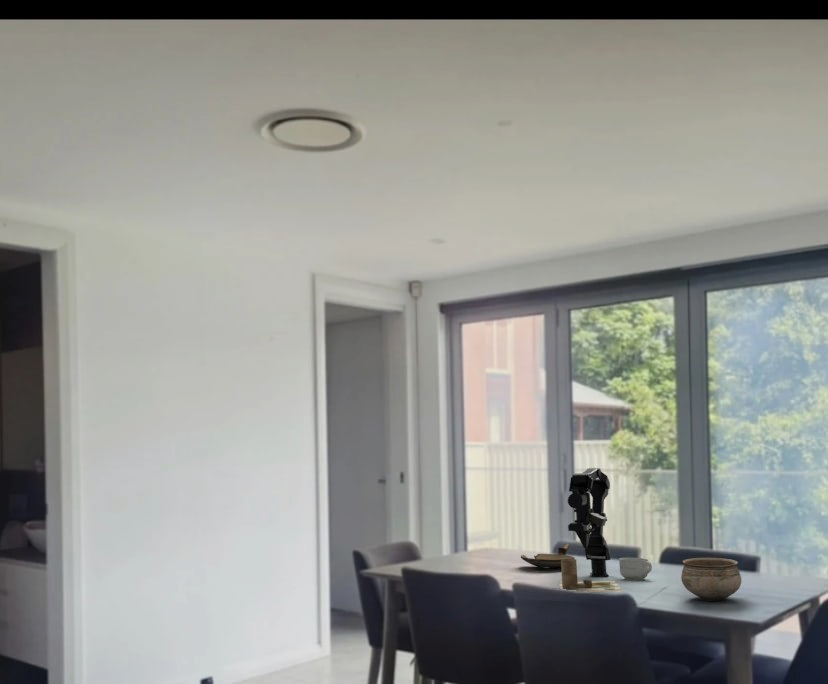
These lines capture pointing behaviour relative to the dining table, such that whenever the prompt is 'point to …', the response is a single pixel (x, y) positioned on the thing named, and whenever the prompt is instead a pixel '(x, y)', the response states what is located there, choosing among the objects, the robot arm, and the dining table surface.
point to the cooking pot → (711, 577)
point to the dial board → (599, 587)
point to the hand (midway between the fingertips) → (585, 547)
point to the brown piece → (574, 576)
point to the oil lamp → (549, 558)
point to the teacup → (634, 568)
